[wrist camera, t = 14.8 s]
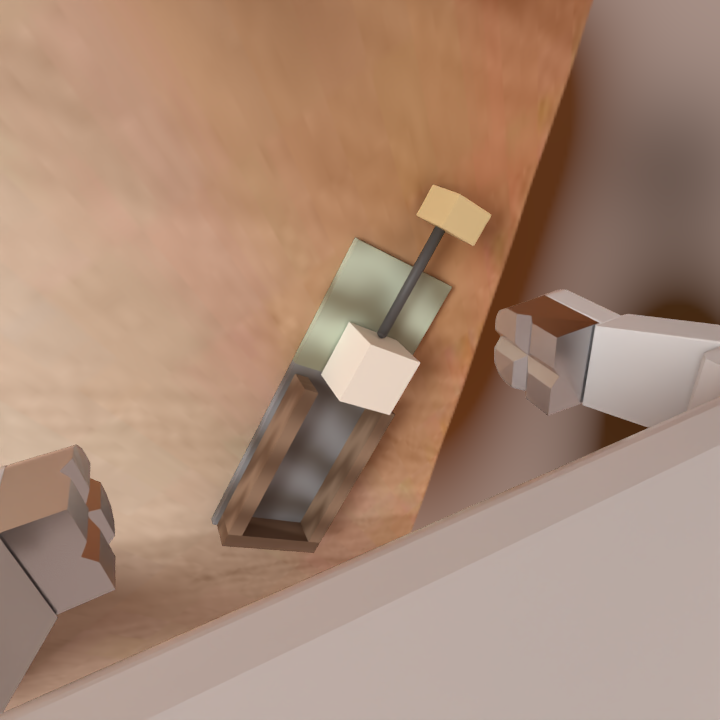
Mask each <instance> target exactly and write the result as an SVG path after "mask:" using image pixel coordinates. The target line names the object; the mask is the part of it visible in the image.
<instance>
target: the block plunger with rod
mask: <svg viewBox="0 0 720 720" xmlns="http://www.w3.org/2000/svg"><path fill="white" fill-rule="evenodd" d="M416 216H418V217H420V218H422V219H423V220H425V221H427V222H428V223H430V224H432V225H434V226H435V228H434V230H433V232H432V233H431V235H430V237H429V239H428V241H427V243H426V244H425V246H424V248H423V250H422V252H421V253H420V255H419V257H418V259H417V261H416V262H415V264H414V266H413V268H412V270H411V272H410V273H409V275H408V277H407V279H406V281H405V282H404V284H403V286H402V288H401V290H400V292H399V293H398V295H397V297H396V299H395V301H394V302H393V304H392V306H391V308H390V310H389V312H388V313H387V315H386V317H385V319H384V321H383V322H382V324H381V326H380V328H379V330H378V332H374V331H371V330H369V329H366V328H364V327H361V326H359V325H356V324H353V323H351V322H349V323H348V325H347V327H346V329H345V330H344V332H343V334H342V336H341V338H340V340H339V342H338V344H337V345H336V347H335V349H334V351H333V353H332V355H331V357H330V359H329V360H328V362H327V364H326V366H325V368H324V370H323V372H322V374H321V375H322V377H323V378H324V380H325V381H326V383H327V384H328V385H329V387H330V388H331V390H332V391H333V393H334V394H335V395H336V397H337V398H338V400H339V401H341V402H345V403H348V404H352V405H355V406H359V407H362V408H366V409H370V410H373V411H377V412H380V413H384V414H388V415H390V414H391V412H392V410H393V409H394V407H395V405H396V404H397V402H398V400H399V399H400V397H401V395H402V393H403V392H404V390H405V388H406V387H407V385H408V383H409V381H410V380H411V378H412V376H413V375H414V373H415V371H416V370H417V368H418V366H419V364H420V362H419V361H418V360H417V359H416V358H415V357H414V356H413V355H412V354H411V353H409V352H408V351H407V350H406V349H405V348H404V347H403V346H402V345H401V344H400V343H399V342H398V341H397V340H395V339H392V338H389V337H387V335H388V333H389V331H390V330H391V328H392V326H393V324H394V322H395V321H396V319H397V317H398V315H399V313H400V312H401V310H402V308H403V306H404V304H405V303H406V301H407V299H408V297H409V295H410V294H411V292H412V290H413V288H414V286H415V285H416V283H417V281H418V279H419V278H420V276H421V274H422V272H423V270H424V269H425V267H426V265H427V263H428V261H429V260H430V258H431V256H432V254H433V252H434V251H435V249H436V247H437V245H438V243H439V242H440V240H441V238H442V236H443V235H444V233H445V232H446V233H447V234H449V235H451V236H454V237H456V238H458V239H460V240H462V241H464V242H466V243H468V244H470V245H472V246H474V245H475V243H476V241H477V239H478V238H479V236H480V234H481V233H482V231H483V229H484V227H485V226H486V224H487V222H488V220H489V219H490V217H491V214H490V213H488V212H486V211H485V210H483V209H482V208H480V207H479V206H477V205H476V204H474V203H473V202H471V201H470V200H468V199H467V198H465V197H464V196H462V195H461V194H458V193H455V192H453V191H450V190H447V189H444V188H441V187H439V186H436V185H432V187H431V189H430V191H429V193H428V195H427V196H426V198H425V200H424V202H423V204H422V206H421V208H420V209H419V211H418V213H417V215H416Z"/></svg>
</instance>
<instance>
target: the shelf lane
mask: <svg viewBox="0 0 720 720" xmlns="http://www.w3.org/2000/svg"><path fill="white" fill-rule="evenodd" d="M412 268H413V266H411V265H409V264H407V263H405V262H403V261H401V260H399V259H397V258H395V257H393V256H391V255H389V254H387V253H385V252H383V251H381V250H379V249H377V248H375V247H373V246H371V245H369V244H367V243H365V242H363V241H361V240H359V239H357V238H355V239H354V241H353V243H352V245H351V246H350V248H349V250H348V252H347V254H346V256H345V258H344V260H343V262H342V264H341V266H340V268H339V270H338V272H337V274H336V276H335V278H334V280H333V282H332V284H331V286H330V288H329V290H328V292H327V294H326V295H325V297H324V299H323V301H322V303H321V305H320V307H319V309H318V311H317V313H316V315H315V317H314V319H313V321H312V323H311V325H310V327H309V329H308V331H307V333H306V335H305V337H304V339H303V341H302V342H301V344H300V346H299V348H298V350H297V352H296V354H295V356H294V358H293V360H292V362H291V364H290V366H289V368H288V370H287V372H286V374H285V376H284V378H283V380H282V382H281V384H280V386H279V388H278V390H277V391H276V393H275V395H274V397H273V399H272V401H271V403H270V405H269V407H268V409H267V411H266V413H265V415H264V417H263V419H262V421H261V423H260V425H259V427H258V429H257V431H256V433H255V435H254V437H253V438H252V440H251V442H250V444H249V446H248V448H247V450H246V452H245V454H244V456H243V458H242V460H241V462H240V464H239V466H238V468H237V470H236V472H235V474H234V476H233V478H232V480H231V482H230V484H229V486H228V487H227V489H226V491H225V493H224V495H223V497H222V499H221V501H220V503H219V505H218V507H217V509H216V511H215V513H214V515H213V517H212V523H213V524H215V525H217V526H218V530H219V534H220V538H221V543H222V546H230V547H243V548H257V549H270V550H283V551H296V552H309V553H314V552H315V550H316V548H317V547H318V545H319V543H320V541H321V540H322V538H323V536H324V535H325V533H326V531H327V530H328V528H329V526H330V524H331V523H332V521H333V519H334V518H335V516H336V514H337V513H338V511H339V509H340V508H341V506H342V504H343V502H344V501H345V499H346V497H347V496H348V494H349V492H350V491H351V489H352V487H353V485H354V484H355V482H356V480H357V479H358V477H359V475H360V474H361V472H362V470H363V468H364V467H365V465H366V463H367V462H368V460H369V458H370V457H371V455H372V453H373V452H374V450H375V448H376V446H377V445H378V443H379V441H380V440H381V438H382V436H383V435H384V433H385V431H386V429H387V428H388V426H389V424H390V423H391V421H392V419H393V418H394V416H395V414H394V413H393V412H391V414H390V415H388V414H384V413H380V412H377V411H373V410H370V409H366V408H362V407H359V406H355V405H352V404H348V403H345V402H341V401H339V400H338V398H337V397H336V395H335V394H334V393H333V391H332V390H331V388H330V387H329V385H328V384H327V383H326V381H325V380H324V378H323V377H322V375H321V374H322V372H323V370H324V368H325V366H326V364H327V362H328V360H329V359H330V357H331V355H332V353H333V351H334V349H335V347H336V345H337V344H338V342H339V340H340V338H341V336H342V334H343V332H344V330H345V329H346V327H347V325H348V323H349V322H351V323H353V324H356V325H359V326H361V327H364V328H366V329H369V330H371V331H374V332H378V330H379V328H380V326H381V324H382V322H383V321H384V319H385V317H386V315H387V313H388V312H389V310H390V308H391V306H392V304H393V302H394V301H395V299H396V297H397V295H398V293H399V292H400V290H401V288H402V286H403V284H404V282H405V281H406V279H407V277H408V275H409V273H410V272H411V270H412ZM451 288H452V287H451V286H450V285H448V284H446V283H444V282H442V281H440V280H438V279H436V278H434V277H432V276H430V275H428V274H426V273H424V272H422V274H421V276H420V278H419V279H418V281H417V283H416V285H415V286H414V288H413V290H412V292H411V294H410V295H409V297H408V299H407V301H406V303H405V304H404V306H403V308H402V310H401V312H400V313H399V315H398V317H397V319H396V321H395V322H394V324H393V326H392V328H391V330H390V331H389V333H388V335H387V337H389V338H392V339H395V340H397V341H398V342H399V343H400V344H401V345H402V346H403V347H404V348H405V349H406V350H407V351H408V352H409V353H411V354H412V355H413V354H414V352H415V350H416V348H417V347H418V345H419V343H420V342H421V340H422V338H423V336H424V335H425V333H426V331H427V329H428V328H429V326H430V324H431V323H432V321H433V319H434V317H435V316H436V314H437V312H438V310H439V309H440V307H441V305H442V304H443V302H444V300H445V298H446V297H447V295H448V293H449V291H450V290H451Z"/></svg>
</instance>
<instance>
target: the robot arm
mask: <svg viewBox="0 0 720 720" xmlns="http://www.w3.org/2000/svg"><path fill="white" fill-rule="evenodd" d="M495 330H496V331H497V332H498V333H499V335H500V336H501V337H500V339H499V341H498V343H497V344H496V346H495V348H494V358H495V359H494V362H495V364H496V367H497V370H498V373H499V375H500V376H501V377H502V379H503V380H504V381H505V382H506V383H507V384H508V385H510V386H511V387H513V388H516V389H521V390H524V391H525V394H526V399H527V400H529V401H530V402H531V403H532V404H534V405H535V406H536V407H538V408H539V409H540V410H541V411H543V412H544V413H545V414H546V415H551V414H554V413H557V412H559V411H562V410H565V409H567V408H570V407H573V406H576V405H578V404H581V403H583V405H584V406H587V407H590V408H593V409H596V410H599V411H602V412H605V413H608V414H610V415H613V416H616V417H619V418H622V419H625V420H628V421H631V422H634V423H637V424H640V425H642V426H645V427H648V429H646V430H643V431H641V432H639V433H636V434H634V435H632V436H630V437H627V438H625V439H623V440H621V441H618V442H616V443H613V444H611V445H609V446H607V447H604V448H602V449H600V450H597V451H595V452H593V453H591V454H588V455H586V456H584V457H581V458H579V459H577V460H575V461H573V462H570V463H568V464H565V465H563V466H561V467H559V468H557V469H554V470H552V471H550V472H547V473H545V474H543V475H540V476H538V477H536V478H534V479H531V480H529V481H527V482H524V483H522V484H520V485H518V486H516V487H513V488H511V489H508V490H506V491H504V492H502V493H499V494H497V495H495V496H493V497H490V498H488V499H486V500H484V501H481V502H479V503H477V504H475V505H472V506H470V507H468V508H466V509H463V510H461V511H459V512H457V513H455V514H452V515H450V516H447V517H445V518H443V519H441V520H438V521H436V522H434V523H432V524H429V525H427V526H425V527H423V528H420V529H418V530H416V531H414V532H411V533H409V534H407V535H404V536H402V537H400V538H398V539H395V540H393V541H391V542H389V543H386V544H384V545H382V546H380V547H377V548H375V549H373V550H371V551H368V552H366V553H364V554H361V555H359V556H357V557H355V558H352V559H350V560H348V561H346V562H343V563H341V564H339V565H337V566H334V567H332V568H330V569H328V570H325V571H323V572H321V573H318V574H316V575H314V576H312V577H309V578H307V579H305V580H303V581H300V582H298V583H296V584H294V585H291V586H289V587H287V588H284V589H282V590H280V591H278V592H275V593H273V594H271V595H269V596H266V597H264V598H262V599H260V600H257V601H255V602H253V603H250V604H248V605H246V606H244V607H241V608H239V609H237V610H235V611H232V612H230V613H228V614H226V615H223V616H221V617H219V618H216V619H214V620H212V621H210V622H207V623H205V624H203V625H201V626H198V627H196V628H194V629H192V630H189V631H187V632H185V633H182V634H180V635H178V636H176V637H173V638H171V639H169V640H167V641H164V642H162V643H160V644H158V645H155V646H153V647H151V648H148V649H146V650H144V651H142V652H139V653H137V654H135V655H133V656H130V657H128V658H126V659H124V660H121V661H119V662H117V663H114V664H112V665H110V666H108V667H105V668H103V669H101V670H99V671H96V672H94V673H92V674H90V675H87V676H85V677H83V678H80V679H78V680H76V681H74V682H71V683H69V684H67V685H65V686H62V687H60V688H58V689H56V690H53V691H51V692H49V693H46V694H44V695H42V696H40V697H37V698H35V699H33V700H31V701H28V702H26V703H24V704H22V705H19V706H17V707H15V708H12V709H10V710H8V711H6V712H3V711H4V710H5V708H6V706H7V704H8V703H9V701H10V699H11V698H12V696H13V694H14V692H15V691H16V689H17V687H18V685H19V684H20V682H21V680H22V679H23V677H24V675H25V673H26V672H27V670H28V668H29V666H30V665H31V663H32V661H33V660H34V658H35V656H36V654H37V653H38V651H39V649H40V647H41V646H42V644H43V642H44V640H45V639H46V637H47V635H48V634H49V632H50V630H51V628H52V627H53V625H54V623H55V621H56V620H57V618H58V617H57V616H56V615H57V614H60V613H62V612H64V611H67V610H69V609H71V608H74V607H76V606H78V605H81V604H83V603H85V602H88V601H90V600H92V599H95V598H97V597H99V596H102V595H104V594H106V593H109V592H111V591H113V590H115V555H114V553H113V552H112V550H111V548H110V546H109V543H110V542H111V540H112V539H113V538H114V536H115V527H114V518H113V514H112V509H111V505H110V502H109V500H108V497H107V494H106V492H105V490H104V488H103V486H102V484H101V483H100V482H98V481H95V480H93V479H91V478H90V462H89V460H88V458H87V456H86V455H85V453H84V451H83V449H82V448H81V447H79V446H78V445H73V446H70V447H66V448H63V449H60V450H56V451H53V452H50V453H46V454H43V455H39V456H36V457H33V458H29V459H26V460H23V461H19V462H16V463H13V464H10V465H9V466H2V467H0V720H720V325H715V324H706V323H698V322H690V321H682V320H673V319H664V318H657V317H649V316H640V315H632V314H625V315H622V316H621V315H618V314H616V313H614V312H612V311H610V310H608V309H606V308H604V307H602V306H600V305H597V304H595V303H593V302H591V301H589V300H587V299H585V298H583V297H581V296H579V295H576V294H574V293H572V292H570V291H568V290H556V291H553V292H551V293H548V294H545V295H542V296H540V297H537V298H535V299H532V300H529V301H526V302H523V303H520V304H517V305H514V306H512V307H509V308H506V309H503V310H500V311H499V312H498V315H497V317H496V324H495Z"/></svg>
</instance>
